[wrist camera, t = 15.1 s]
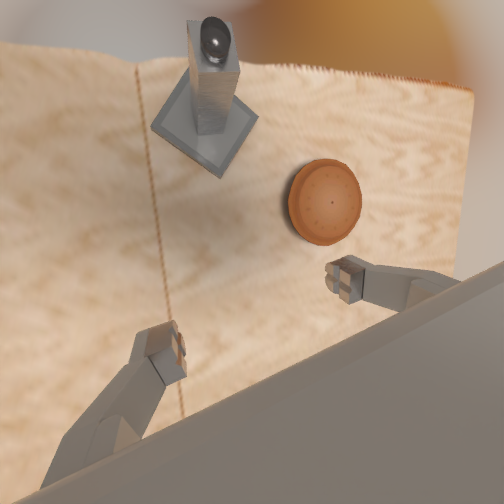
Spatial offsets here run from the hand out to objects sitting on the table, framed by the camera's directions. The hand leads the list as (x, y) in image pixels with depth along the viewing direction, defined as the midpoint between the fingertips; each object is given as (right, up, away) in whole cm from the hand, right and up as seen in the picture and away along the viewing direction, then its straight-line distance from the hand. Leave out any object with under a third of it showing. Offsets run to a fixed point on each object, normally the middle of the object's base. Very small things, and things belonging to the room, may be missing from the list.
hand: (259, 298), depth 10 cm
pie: (+12, +12, +29) cm, 34 cm away
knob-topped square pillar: (-7, +23, +20) cm, 31 cm away
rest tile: (-7, +23, +22) cm, 32 cm away
